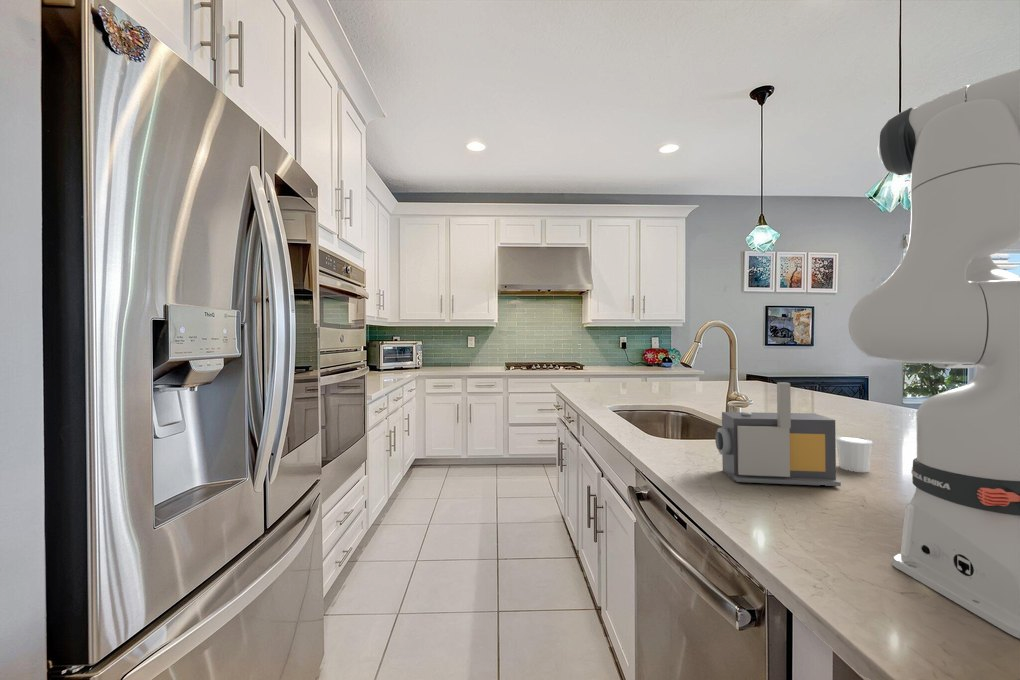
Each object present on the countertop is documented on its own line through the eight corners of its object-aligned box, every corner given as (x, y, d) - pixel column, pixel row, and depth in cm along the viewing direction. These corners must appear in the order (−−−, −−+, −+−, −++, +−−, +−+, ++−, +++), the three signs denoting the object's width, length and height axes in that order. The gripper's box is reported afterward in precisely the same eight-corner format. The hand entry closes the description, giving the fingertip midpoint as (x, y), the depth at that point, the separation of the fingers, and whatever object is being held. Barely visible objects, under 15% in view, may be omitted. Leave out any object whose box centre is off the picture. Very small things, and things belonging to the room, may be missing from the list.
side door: (791, 477, 89) (790, 383, 89) (740, 475, 91) (739, 383, 90) (788, 475, 90) (787, 382, 90) (737, 473, 92) (736, 382, 92)
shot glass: (859, 464, 104) (859, 436, 103) (881, 473, 97) (880, 443, 97) (829, 464, 104) (829, 435, 104) (848, 473, 97) (848, 442, 97)
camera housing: (840, 489, 87) (840, 418, 87) (726, 484, 91) (725, 416, 91) (815, 473, 97) (814, 410, 97) (713, 470, 101) (712, 409, 101)
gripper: (909, 331, 95) (840, 332, 97) (997, 329, 74) (907, 330, 77) (909, 359, 94) (840, 359, 97) (997, 364, 74) (907, 364, 77)
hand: (870, 346), depth 87 cm, fingers closed
